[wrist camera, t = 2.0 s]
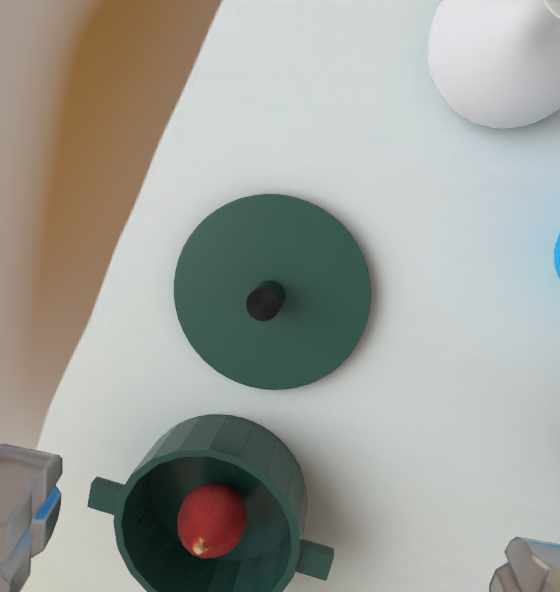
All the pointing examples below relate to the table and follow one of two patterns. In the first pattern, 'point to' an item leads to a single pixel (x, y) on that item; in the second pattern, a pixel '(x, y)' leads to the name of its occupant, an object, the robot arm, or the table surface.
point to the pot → (214, 469)
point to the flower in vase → (497, 59)
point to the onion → (211, 520)
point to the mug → (557, 255)
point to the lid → (272, 291)
